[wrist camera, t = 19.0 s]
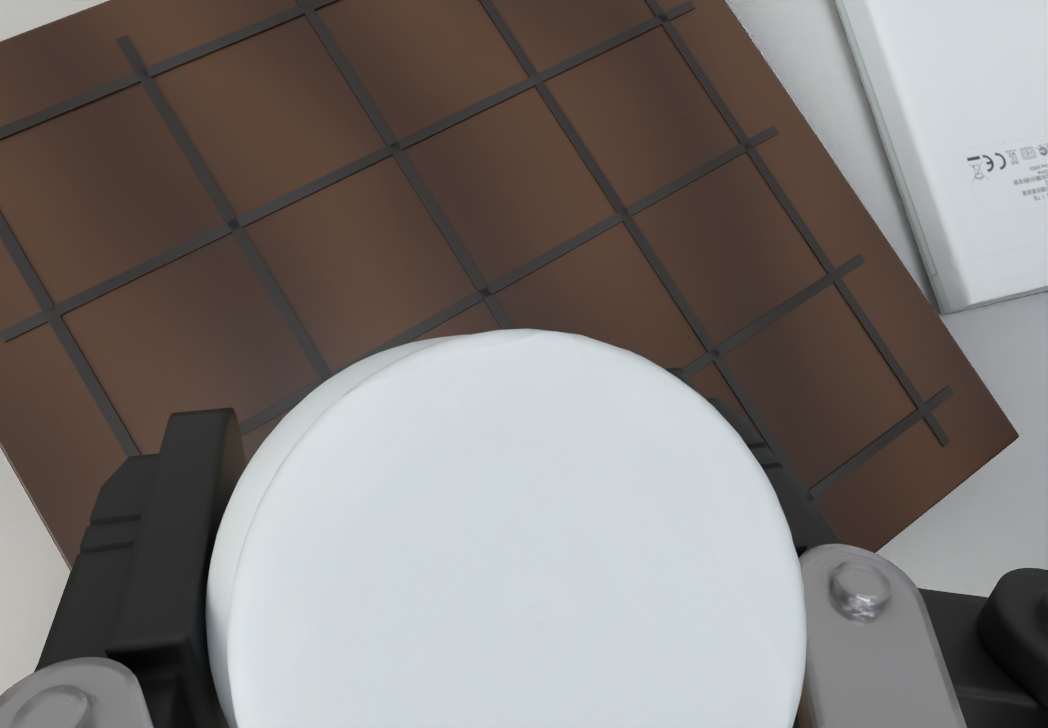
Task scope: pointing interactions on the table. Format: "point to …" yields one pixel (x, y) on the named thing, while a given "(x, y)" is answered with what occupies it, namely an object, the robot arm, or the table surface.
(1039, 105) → the hard drive
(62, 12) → the table surface
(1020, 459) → the table surface
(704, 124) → the board
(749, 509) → the pill bottle
